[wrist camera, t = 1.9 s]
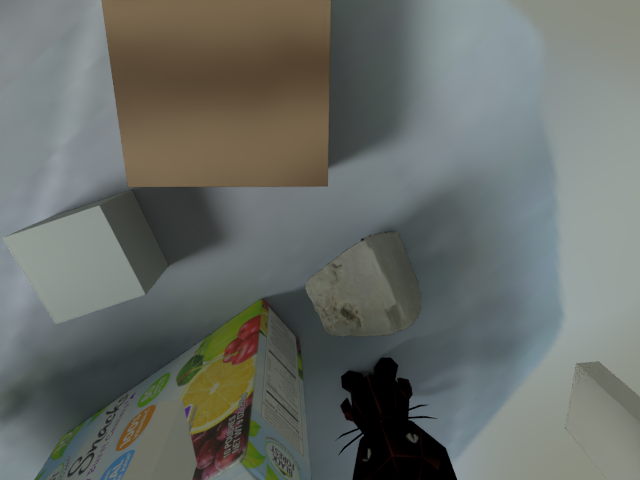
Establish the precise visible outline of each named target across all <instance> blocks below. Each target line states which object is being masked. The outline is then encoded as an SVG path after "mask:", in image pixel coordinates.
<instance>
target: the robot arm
mask: <svg viewBox="0 0 640 480" xmlns="http://www.w3.org/2000/svg"><path fill="white" fill-rule="evenodd" d="M565 429H566V430H567V431H568V432H569V433H570V435H571V436H572V437H573V438H574V440H575V441H576V442H577V443H578V445H579V446H580V447H581V448H582V449H583V451H584V452H585V453H586V454H587V455H588V456H589V458H590V459H591V460H592V461H593V463H594V464H595V465H596V466H597V467H598V469H599V470H600V471H601V472H602V474H603V475H604V476H605V477H606V478H607V480H640V397H639V396H638V395H637V394H636V393H635V392H634V391H632V390H631V389H630V388H629V387H628V386H627V385H625V384H624V383H623V382H622V381H621V380H620V379H618V378H617V377H616V376H615V375H614V374H612V373H611V372H610V371H609V370H608V369H607V368H605V367H604V366H603V365H602V364H601V363H600V362H589V363H578V364H576V367H575V374H574V380H573V385H572V391H571V397H570V402H569V409H568V414H567V420H566V426H565ZM196 465H197V462H196V457H195V453H194V448H193V444H192V439H191V435H190V431H189V426H188V422H187V417H186V413H185V409H184V404H183V400H173V401H162V402H159V403H158V405H157V407H156V409H155V411H154V413H153V415H152V417H151V419H150V421H149V424H148V426H147V428H146V430H145V432H144V434H143V436H142V438H141V440H140V442H139V445H138V447H137V449H136V451H135V453H134V455H133V457H132V459H131V461H130V463H129V465H128V468H127V470H126V472H125V474H124V476H123V478H122V480H192V479H193V475H194V472H195V469H196Z"/></svg>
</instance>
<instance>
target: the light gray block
mask: <svg viewBox="0 0 640 480" xmlns="http://www.w3.org/2000/svg"><path fill="white" fill-rule="evenodd" d="M2 239H3V240H4V242H5V243H6V245H7V247H8V248H9V250H10V251H11V253H12V255H13V256H14V258H15V260H16V261H17V263H18V264H19V266H20V268H21V269H22V271H23V272H24V274H25V276H26V277H27V279H28V280H29V282H30V284H31V285H32V287H33V289H34V290H35V292H36V293H37V295H38V297H39V298H40V300H41V301H42V303H43V305H44V306H45V308H46V309H47V311H48V313H49V314H50V316H51V317H52V319H53V321H54V322H55V324H58V323H61V322H64V321H67V320H70V319H73V318H76V317H79V316H82V315H86V314H89V313H92V312H95V311H98V310H101V309H104V308H107V307H110V306H113V305H116V304H119V303H122V302H125V301H128V300H131V299H134V298H137V297H140V296H143V295H146V294H147V292H148V291H149V290H150V289H151V287H152V286H153V285H154V284H155V282H156V281H157V280H158V278H159V277H160V276H161V275H162V273H163V272H164V271H165V270H166V268H167V267H168V264H167V262H166V260H165V257H164V255H163V253H162V251H161V249H160V247H159V245H158V243H157V241H156V239H155V237H154V235H153V233H152V231H151V229H150V227H149V224H148V222H147V220H146V218H145V216H144V214H143V212H142V210H141V208H140V206H139V204H138V202H137V200H136V198H135V196H134V194H133V191H132V190H129V191H126V192H123V193H120V194H117V195H114V196H111V197H108V198H106V199H103V200H100V201H97V202H94V203H91V204H88V205H85V206H82V207H79V208H76V209H73V210H70V211H67V212H64V213H61V214H58V215H55V216H52V217H49V218H47V219H45V220H43V221H40V222H38V223H36V224H33V225H31V226H29V227H26V228H24V229H22V230H19V231H17V232H15V233H12V234H10V235H8V236H6V237H3V238H2Z"/></svg>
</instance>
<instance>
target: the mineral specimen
mask: <svg viewBox="0 0 640 480" xmlns="http://www.w3.org/2000/svg"><path fill="white" fill-rule="evenodd" d="M305 287H306V291H307V294H308V296H309V298H310V299H311V300H312V302H313V305H314V308H315V312H317V313H318V314H319V316H320V318H321V321H322V324H323V326H324V330H325V331H326V332H327V333H328V334H330V335H333V336H337V335H338V336H345V337H346V336H355V337H362V336H379V335H390V334H394V333H395V332H397V331H400V330H404V329H406V328H407V327H408V326H411V325H412V324H413V322H414V320H416V318H418V315H419V313H420V309H421V300H422V294H421V291H420V289H419V287H418V281H417V279H416V277H415V275H414V272H413V270H412V267H411V264H410V262H409V260H408V258H407V256H406V253H405V248H404V246H403V244H402V241H401V239H400V236H399V234H398V233H397V232H385V233H378V234H376V235H369V236H368V237H366V238H363V239H361V241H360V242H359V243H357V244H355V245H353V246H352V247H351V248H349V249H347V250H346V251H344V252H343V253H342V254H341V255H340V256H339V257H337V258H335V259H334V260H333V261H332V262H330V263H328V264H327V265H326V266H325V267H324V268H323V269H321V270H319V271H318V272H317V273H316V274H315V275H313V276H312V277H311V278H310V279H308V281H307V283H306V285H305Z"/></svg>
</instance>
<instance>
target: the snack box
mask: <svg viewBox="0 0 640 480" xmlns="http://www.w3.org/2000/svg"><path fill="white" fill-rule="evenodd" d="M173 400H183V404H184V409H185V413H186V417H187V422H188V426H189V431H190V435H191V439H192V444H193V448H194V453H195V457H196V462H197V465H196V469H195V472H194V475H193V479H192V480H311V469H310V457H309V445H308V432H307V420H306V409H305V396H304V384H303V372H302V360H301V348H300V341H299V339H298V338H297V337H296V336H295V335H294V334H293V332H292V331H291V330H290V329H289V328H288V327H287V326H286V325H285V323H284V322H283V321H282V320H281V319H280V318H279V317H278V316H277V314H276V313H275V312H274V311H273V310H272V309H271V307H270V306H269V305H268V304H267V303H266V302H265V301H264V300H263V299H260V300H258V301H257V302H256V303H254V304H253V305H251V306H250V307H248V308H247V309H246V310H244V311H243V312H241V313H240V314H238V315H237V316H235V317H234V318H233V319H231V320H230V321H228V322H227V323H225V324H224V325H223V326H221V327H220V328H218V329H217V330H216V331H214V332H213V333H211V334H210V335H208V336H207V337H206V338H204V339H203V340H201V341H200V342H198V343H197V344H196V345H194V346H193V347H191V348H190V349H189V350H187V351H186V352H184V353H183V354H181V355H180V356H178V357H177V358H176V359H174V360H173V361H171V362H170V363H168V364H167V365H165V366H164V367H163V368H161V369H160V370H158V371H157V372H155V373H154V374H152V375H151V376H150V377H148V378H147V379H145V380H144V381H143V382H141V383H140V384H138V385H137V386H135V387H134V388H132V389H131V390H129V391H128V392H127V393H125V394H124V395H122V396H121V397H119V398H118V399H116V400H115V401H113V402H112V403H111V404H109V405H108V406H106V407H105V408H103V409H102V410H101V411H99V412H98V413H96V414H95V415H93V416H92V417H90V418H89V419H87V420H86V421H85V422H83V423H82V424H80V425H79V426H77V427H76V428H74V429H73V430H71V431H70V432H68V433H67V434H66V435H64V436H63V437H62V438H61V440H60V441H59V443H58V444H57V446H56V447H55V449H54V451H53V452H52V454H51V455H50V457H49V458H48V460H47V461H46V463H45V465H44V466H43V468H42V469H41V471H40V472H39V474H38V475H37V477H36V478H35V480H122V478H123V476H124V474H125V472H126V470H127V468H128V465H129V463H130V461H131V459H132V457H133V455H134V453H135V451H136V449H137V447H138V445H139V442H140V440H141V438H142V436H143V434H144V432H145V430H146V428H147V426H148V424H149V421H150V419H151V417H152V415H153V413H154V411H155V409H156V407H157V405H158V403H159V402H162V401H173Z"/></svg>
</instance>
